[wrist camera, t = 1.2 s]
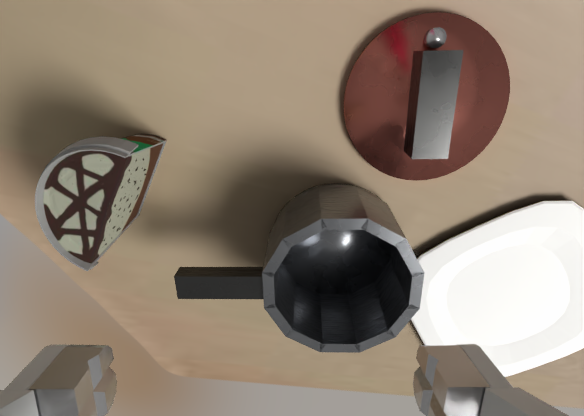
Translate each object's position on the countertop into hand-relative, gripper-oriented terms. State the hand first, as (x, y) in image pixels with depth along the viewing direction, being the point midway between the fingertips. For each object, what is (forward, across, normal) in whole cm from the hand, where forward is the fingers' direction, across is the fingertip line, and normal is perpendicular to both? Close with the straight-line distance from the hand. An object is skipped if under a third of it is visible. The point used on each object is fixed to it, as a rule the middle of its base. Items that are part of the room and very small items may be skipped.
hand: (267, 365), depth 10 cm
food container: (+31, +16, 0) cm, 34 cm away
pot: (+30, -2, +9) cm, 31 cm away
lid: (+28, -14, -7) cm, 32 cm away
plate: (+30, -27, +15) cm, 43 cm away
